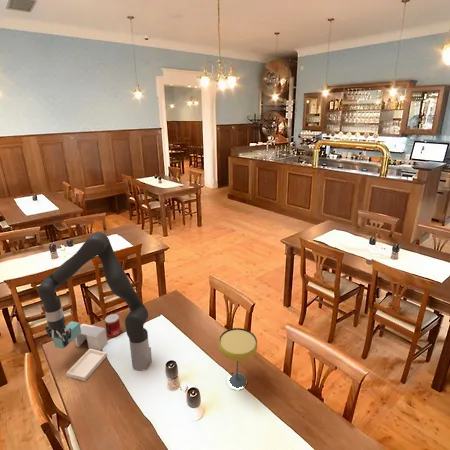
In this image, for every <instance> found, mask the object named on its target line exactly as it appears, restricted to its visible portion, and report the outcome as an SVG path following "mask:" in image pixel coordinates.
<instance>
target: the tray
mask: <svg viewBox="0 0 450 450" xmlns="http://www.w3.org/2000/svg"><path fill="white" fill-rule="evenodd" d="M107 357H108V354H107V351H102V350H100V351H98V350H94V349H89V348H88V349H87V350H86V352H85V353H84V354H83V355H82V356H80V358H79V359H78V360H77V361H75V363H74V364H73V365H72V366H71V367H70V368H69V369H68V371H67V372H66V377H67V378H69V379H73V380H78V381H80V382H81V381H82V382H87V380H88V379H89V378H90V377H91V375H92V374H93V373H94V372H95V371H96V370H97V368H98V367H100V365H101V364H102V362H104V361H105V360H106V359H107Z"/></svg>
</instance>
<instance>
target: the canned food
mask: <svg viewBox="0 0 450 450" xmlns="http://www.w3.org/2000/svg"><path fill="white" fill-rule="evenodd" d="M104 323H105V331H106V336H107V337H109V338H116V337H119V335H120V334H121V331H122V330H121V323H120V316H119V315H118V314H117V313H111V314H110V315H109V314H108V315H107V316H106V317H105V318H104Z"/></svg>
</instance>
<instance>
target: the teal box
mask: <svg viewBox="0 0 450 450" xmlns="http://www.w3.org/2000/svg"><path fill="white" fill-rule="evenodd" d="M80 325H81V324H80V322H77V321H70V322H69V323H68V324H66V325H65V327H66V329H69V328H70V329H71V338H70V339H69V340H68V342H69V344H71V343H72V342H73V341H75V338H76V337H77V336H78V335H79V334H80V333H81V328H80ZM63 334H64V333H63ZM64 338H65V336H64ZM53 339H54V341H53V343H54V347H55V348H58V349H62V350H64V349H65V348H66V347H64V344H63V340H62V338H60V336H59V335H58V334H56V335H55V336H54V337H53ZM53 339H52V340H53Z"/></svg>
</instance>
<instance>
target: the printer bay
mask: <svg viewBox="0 0 450 450" xmlns="http://www.w3.org/2000/svg"><path fill="white" fill-rule="evenodd" d="M80 328H81V333H80V334H79V335H78V336H77V337H76V338H75V339H74V343H75V347H77V348H79V347H80V346H81V345H83V343H84V342H85V341H87V347H88V350H89V349H94V350H98V351H102V349H103V348H104V347H105V346H106V345H107V344H108V340H107V337H108V336H107V331H106V327H105V328H104V327H102V326H95V325H91V324H85V323H82V324H80Z"/></svg>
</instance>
